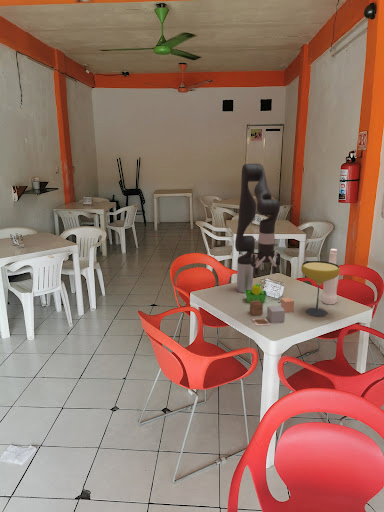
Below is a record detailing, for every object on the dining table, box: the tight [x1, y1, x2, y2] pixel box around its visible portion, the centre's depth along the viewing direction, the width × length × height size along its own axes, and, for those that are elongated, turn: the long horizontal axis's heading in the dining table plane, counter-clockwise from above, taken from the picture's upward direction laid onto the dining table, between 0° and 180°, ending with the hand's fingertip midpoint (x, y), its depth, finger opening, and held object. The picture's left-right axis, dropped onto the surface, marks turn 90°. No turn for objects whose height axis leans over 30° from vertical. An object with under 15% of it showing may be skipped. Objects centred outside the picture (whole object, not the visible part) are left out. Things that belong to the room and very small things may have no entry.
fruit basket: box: [245, 283, 268, 304], centre depth 212 cm, size 11×9×11 cm
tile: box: [251, 317, 272, 327], centre depth 187 cm, size 7×7×1 cm
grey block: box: [266, 305, 286, 324], centre depth 190 cm, size 6×6×6 cm
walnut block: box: [249, 301, 264, 316], centre depth 197 cm, size 5×5×6 cm
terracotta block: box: [280, 297, 295, 314], centre depth 201 cm, size 5×5×6 cm
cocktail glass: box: [300, 260, 341, 318], centre depth 195 cm, size 18×18×25 cm
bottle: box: [320, 248, 340, 305], centre depth 208 cm, size 8×8×30 cm
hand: (264, 274), depth 188 cm, fingers open, 8 cm apart
